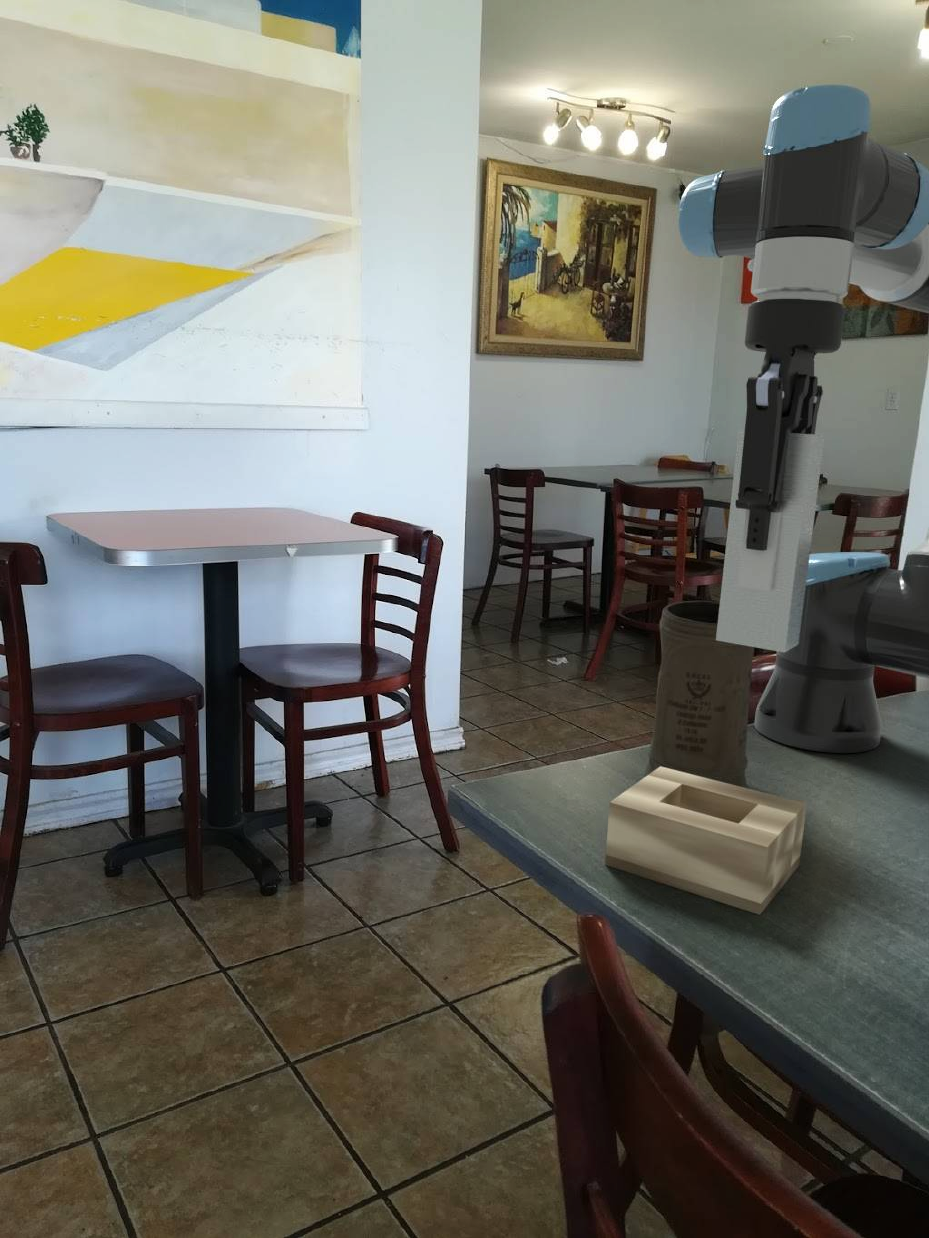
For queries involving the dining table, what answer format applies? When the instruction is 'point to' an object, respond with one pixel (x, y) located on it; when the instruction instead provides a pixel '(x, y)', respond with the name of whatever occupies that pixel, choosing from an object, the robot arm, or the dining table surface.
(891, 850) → the dining table surface
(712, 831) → the well block
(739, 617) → the tall grey pillar
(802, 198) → the robot arm
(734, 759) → the beer stein
